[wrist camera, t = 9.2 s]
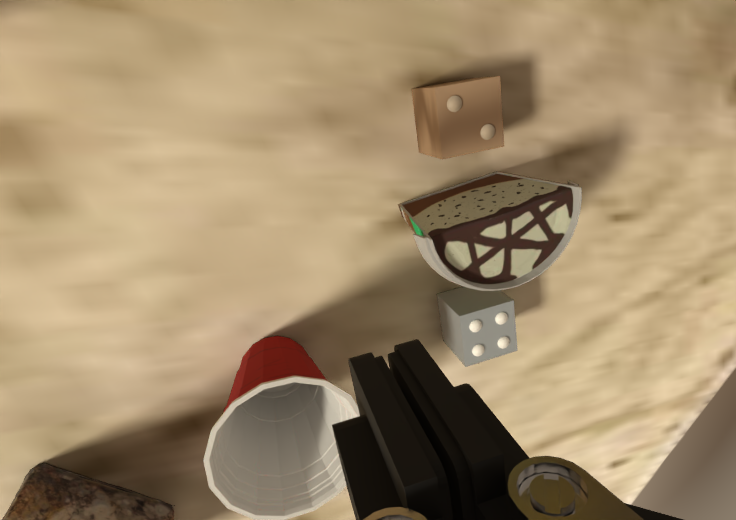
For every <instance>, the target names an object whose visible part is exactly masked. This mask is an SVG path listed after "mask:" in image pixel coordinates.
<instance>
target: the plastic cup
mask: <svg viewBox="0 0 736 520" xmlns="http://www.w3.org/2000/svg"><path fill="white" fill-rule="evenodd" d="M358 416H360V414H359V409H358V406H357V404H356V403H355V401H354V399H353V398H352V396H351V395H350V394H348V393H346V392H345V391H343V390H341V389H340V388H338V387H336V386H335V385H333V384H331V383H330V382H328V381H327V380H326V379H325V377H324V376H323V374H322V373H321V371H320V370H319V369H318V367H317V366H316V364H315V363H314V362H313V360H312V359H311V358H310V357H309V356H308V354H307V353H306V351H305V350H304V348H303V347H302V346H301V345H300V344H298V343H297V342H295V341H294V340H292V339H290V338H287V337H281V336H273V337H268V338H264V339H262V340H260V341H258V342H257V343H255V344H253V345H252V346H251V348H250V349H249V350H248V351H247V352H246V354H245V355H244V356H243V358H242V362H241V365H240V368H239V370H238V372H237V374H236V377H235V381H234V384H233V387H232V390H231V394H230V397H229V400H228V403H227V406H226V407H225V409H224V413H223V414H222V416H221V417H220V418H219V420H218V421H217V422H216V423H215V425H214V426H213V427H212V430H211V432H210V436H209V440H208V444H207V448H206V452H205V455H204V459H203V462H204V467H205V471H206V476H207V480H208V485H209V488H210V489H211V490H212V492H213V493H214V494H215V495H216V496H217V497H218V498H219V500H220V501H221V502H222V503H223V504H224V505H225V506H226V507H227V509H230V510H232V511H235V512H237V513H239V514H242V515H244V516H247V517H249V518H252V519H254V520H286V519H289V518H293V517H296V516H299V515H302V514H305V513H308V512H312V511H315V510H316V509H318V508H319V507H321V506H322V505H323V504H325V503H326V502H328V501H329V500H331V499H332V498H334V497H335V496H337V495H338V494H340V493H341V492H342V490H343V489H344V488H345V486H346V481H345V477H344V474H343V470H342V466H341V462H340V458H339V454H338V450H337V445H336V441H335V437H334V433H333V428H332V424H336V423H339V422H342V421H345V420H349V419H352V418H355V417H358Z"/></svg>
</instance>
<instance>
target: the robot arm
mask: <svg viewBox="0 0 736 520" xmlns="http://www.w3.org/2000/svg"><path fill="white" fill-rule="evenodd" d="M394 350H395V352H393V353H390V354H388V361H389V367H390V369H389V367H388V366H387V364H386V362H385V360H384V359H383V357H382V356H379V357H376V358H374V356H373V354H372V353H371V352H370V353H367V354H363V355H360V356H356V357H353V358H349V366H350V371H351V376H352V381H353V386H354V390H355V395H356V400H357V405H358V409H359V414H360V416H358V417H355V418H352V419H349V420H345V421H342V422H339V423H336V424H332V428H333V433H334V437H335V441H336V445H337V450H338V454H339V458H340V462H341V466H342V470H343V474H344V477H345V481H346V485H347V489H348V492H349V496H350V499H351V503H352V507H353V510H354V514H355V517H356V520H683V519H679V518H676V517H672V516H669V515H665V514H661V513H657V512H654V511H651V510H647V509H643V508H640V507H636V506H633V505H629V504H626V503H623V502H622V501H621V500H620V499H619V498H617V497H616V496H615V495H614V494H613V493H611V492H610V491H609V490H608V489H607V488H605V487H604V486H603V485H602V484H601V483H599V482H598V481H597V480H596V479H595V478H593V477H592V476H591V475H590V474H589V473H588V472H586V471H585V470H584V469H582V468H581V467H579V466H578V465H576V464H575V463H573V462H570V461H567V460H565V459H562V458H558V457H551V456H538V457H532V458H529V457H528V456H527V454H526V453H525V452H524V451H523V450H522V448H521V447H520V446H519V445H518V443H517V442H516V441H515V440H514V438H513V437H512V436H511V435H510V433H509V432H508V431H507V430H506V428H505V427H504V426H503V425H502V424H501V422H500V421H499V420H498V419H497V417H496V416H495V415H494V414H493V412H492V411H491V410H490V409H489V407H488V406H487V405H486V404H485V403H484V401H483V400H482V399H481V398H480V396H479V395H478V394H477V393H476V391H475V390H474V389H473V388H472V387H471V386H470V385H469V384H463V385H459V386H456V387H453V386H452V384H451V383H450V382H449V380H448V379H447V377H446V376H445V375H444V373H443V372H442V371H441V369H440V368H439V367H438V365H437V364H436V363H435V361H434V360H433V359H432V357H431V356H430V355H429V353H428V352H427V351H426V349H425V348H424V347H423V345H422V344H421V343H420V341H419V340H417V339H416V340H413V341H409V342H406V343H402V344H399V345H395V347H394Z"/></svg>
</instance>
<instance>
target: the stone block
mask: <svg viewBox="0 0 736 520" xmlns="http://www.w3.org/2000/svg"><path fill="white" fill-rule="evenodd" d="M174 506H175V505H174ZM2 520H174V511H173V508H172V505H169V504H167V503H164V502H162V501H160V500H157V499H153V498H150V497H147V496H144V495H142V494H139V493H136V492H133V491H130V490H127V489H124V488H121V487H118V486H114V485H110V484H107V483H104V482H100V481H97V480H94V479H91V478H87V477H84V476H81V475H78V474H75V473H72V472H69V471H66V470H62V469H58V468H56V467H53V466H51V465H48V464H46V463H43V464H39V465H37V466H35V467H34V468H32V469H31V470H30V471H29V473H28V474H27V475H26V476H25V479H24V481H23V483H22V485H21V487H20V489H19V491H18V492H17V494H16V496H15V499H14V500H13V502H12V504H11V506H10V507H9V509H8V511H7V513H6V514H5V516H4V517H3V519H2Z"/></svg>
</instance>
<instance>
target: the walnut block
mask: <svg viewBox="0 0 736 520" xmlns="http://www.w3.org/2000/svg"><path fill="white" fill-rule="evenodd" d="M412 97H413V105H414V114H415V122H416V130H417V139H418V147H419V152H420V153H423V154H426V155H430V156H433V157H436V158H440V159H446V158H451V157H456V156H460V155H465V154H470V153H475V152H479V151H484V150H489V149H494V148H499V147H503V146H504V135H503V118H502V101H501V83H500V76H494V77H482V78H470V79H464V80H459V81H453V82H448V83H442V84H436V85H431V86H425V87H420V88H414V89H412Z"/></svg>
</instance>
